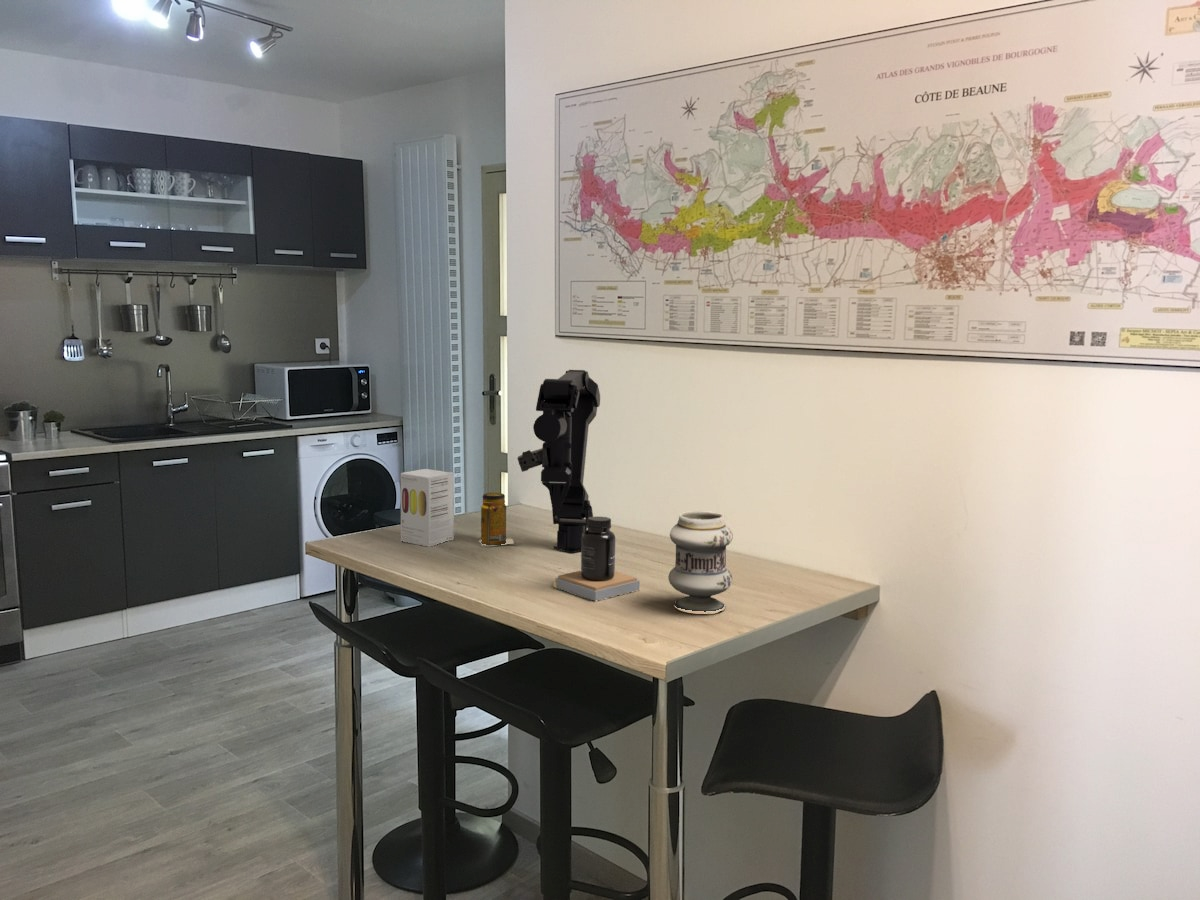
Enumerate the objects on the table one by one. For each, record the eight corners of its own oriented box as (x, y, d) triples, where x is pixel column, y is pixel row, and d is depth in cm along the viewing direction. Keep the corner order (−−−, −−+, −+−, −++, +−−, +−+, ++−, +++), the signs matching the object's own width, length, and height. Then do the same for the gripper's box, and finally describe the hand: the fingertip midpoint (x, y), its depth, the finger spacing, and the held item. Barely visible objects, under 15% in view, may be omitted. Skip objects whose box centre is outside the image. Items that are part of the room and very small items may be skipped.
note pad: (597, 577, 197) (597, 565, 197) (639, 590, 188) (639, 577, 188) (553, 587, 189) (553, 575, 188) (595, 601, 180) (595, 588, 179)
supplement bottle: (619, 580, 185) (620, 521, 184) (586, 583, 183) (587, 523, 182) (608, 571, 192) (609, 514, 190) (576, 573, 190) (577, 515, 188)
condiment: (477, 540, 228) (477, 491, 226) (512, 538, 230) (512, 490, 228) (481, 547, 221) (482, 497, 219) (517, 545, 223) (517, 496, 221)
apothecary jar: (668, 596, 184) (671, 506, 182) (729, 599, 183) (733, 509, 181) (666, 615, 172) (669, 519, 170) (732, 618, 171) (736, 522, 169)
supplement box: (399, 541, 225) (398, 472, 222) (425, 534, 232) (425, 467, 230) (429, 547, 220) (429, 476, 217) (455, 540, 227) (455, 471, 225)
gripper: (522, 432, 209) (521, 501, 211) (517, 441, 191) (515, 516, 192) (572, 434, 210) (571, 502, 211) (571, 442, 191) (570, 517, 193)
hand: (556, 509), depth 202 cm, fingers open, 9 cm apart
